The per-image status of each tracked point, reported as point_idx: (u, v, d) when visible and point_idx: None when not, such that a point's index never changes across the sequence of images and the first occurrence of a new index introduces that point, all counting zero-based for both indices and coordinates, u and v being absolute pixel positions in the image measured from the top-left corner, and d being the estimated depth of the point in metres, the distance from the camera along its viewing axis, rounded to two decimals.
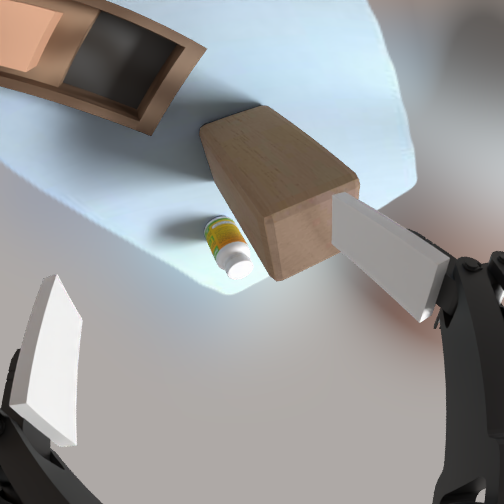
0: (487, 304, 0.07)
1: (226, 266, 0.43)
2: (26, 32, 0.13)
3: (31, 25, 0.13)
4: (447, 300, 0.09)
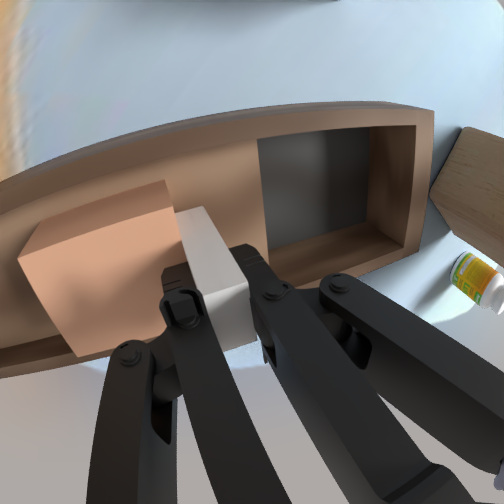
0: (311, 335, 0.07)
1: (494, 307, 0.28)
2: (147, 274, 0.12)
3: (144, 258, 0.11)
4: (263, 336, 0.09)
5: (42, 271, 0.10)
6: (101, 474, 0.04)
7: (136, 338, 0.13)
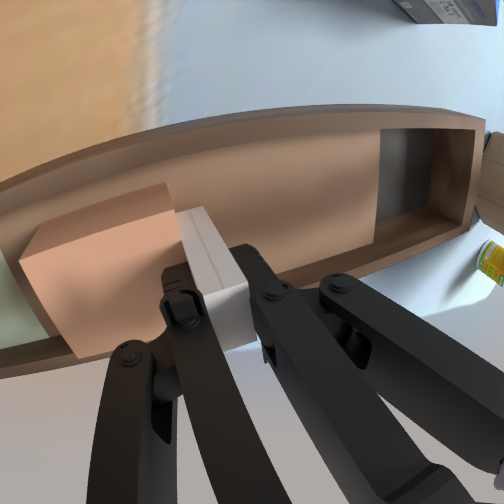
0: (311, 335, 0.07)
1: None
2: (148, 276, 0.12)
3: (146, 261, 0.11)
4: (263, 337, 0.09)
5: (43, 273, 0.10)
6: (101, 474, 0.04)
7: None
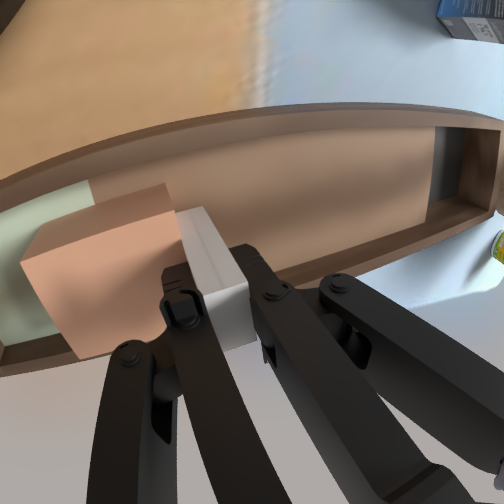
0: (311, 335, 0.07)
1: None
2: (148, 276, 0.12)
3: (146, 261, 0.11)
4: (263, 337, 0.09)
5: (44, 274, 0.10)
6: (101, 474, 0.04)
7: None
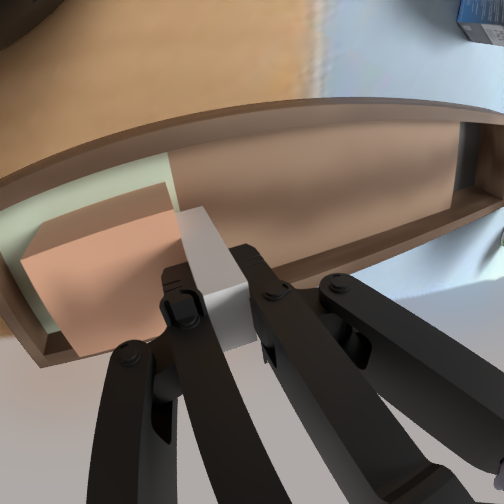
0: (311, 335, 0.07)
1: None
2: (148, 275, 0.12)
3: (146, 260, 0.11)
4: (263, 337, 0.09)
5: (45, 273, 0.10)
6: (101, 474, 0.04)
7: (137, 338, 0.13)
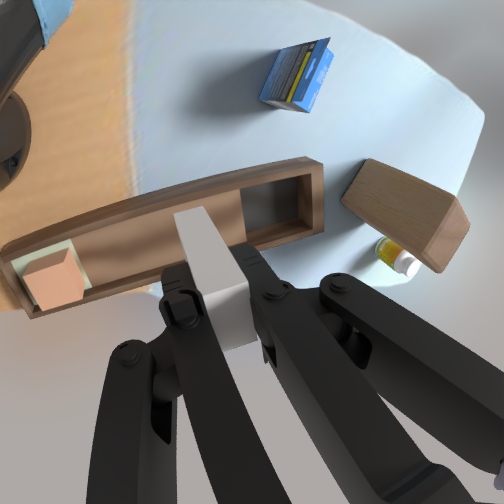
0: (311, 335, 0.07)
1: (403, 271, 0.53)
2: (60, 281, 0.32)
3: (58, 277, 0.32)
4: (263, 336, 0.09)
5: (30, 280, 0.30)
6: (101, 474, 0.04)
7: (61, 304, 0.34)
